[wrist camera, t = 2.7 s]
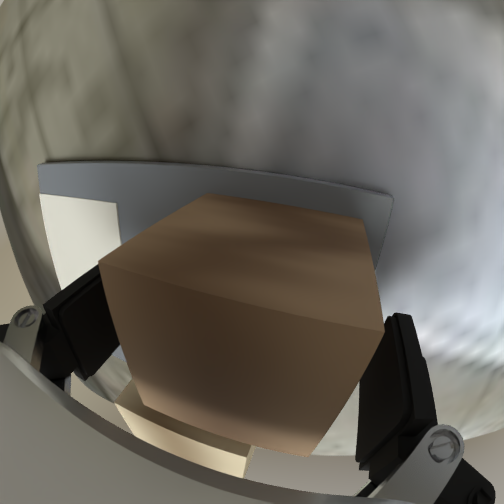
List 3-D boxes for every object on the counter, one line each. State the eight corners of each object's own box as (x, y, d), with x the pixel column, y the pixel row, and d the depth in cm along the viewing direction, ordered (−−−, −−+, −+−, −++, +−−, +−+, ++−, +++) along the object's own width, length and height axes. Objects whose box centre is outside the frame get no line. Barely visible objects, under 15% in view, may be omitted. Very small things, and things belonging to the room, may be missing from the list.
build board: (391, 195, 9) (394, 199, 9) (311, 415, 16) (310, 423, 15) (44, 162, 14) (36, 165, 13) (84, 333, 20) (79, 338, 20)
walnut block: (362, 219, 9) (385, 331, 4) (327, 340, 12) (308, 457, 7) (207, 192, 11) (97, 260, 5) (207, 312, 13) (143, 404, 8)
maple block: (282, 353, 13) (246, 457, 8) (268, 409, 16) (240, 487, 11) (175, 323, 15) (114, 402, 9) (185, 384, 17) (144, 450, 12)
